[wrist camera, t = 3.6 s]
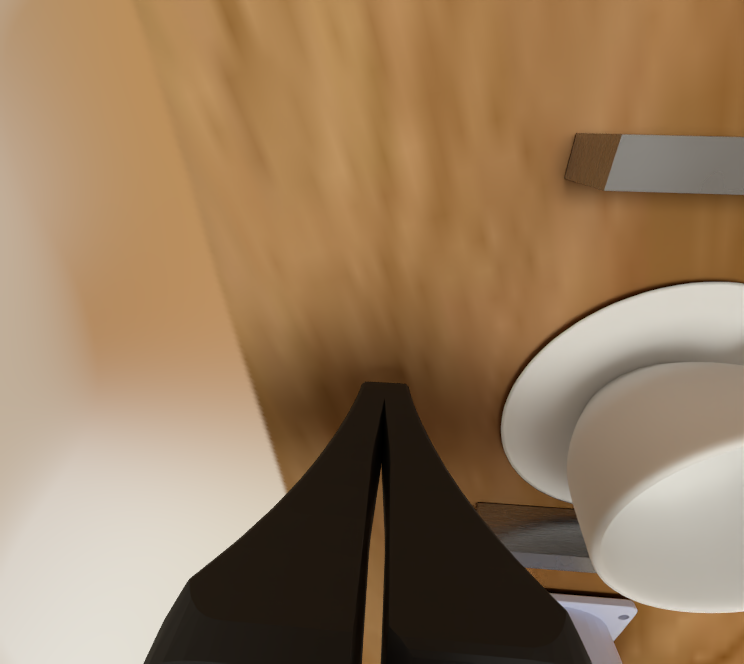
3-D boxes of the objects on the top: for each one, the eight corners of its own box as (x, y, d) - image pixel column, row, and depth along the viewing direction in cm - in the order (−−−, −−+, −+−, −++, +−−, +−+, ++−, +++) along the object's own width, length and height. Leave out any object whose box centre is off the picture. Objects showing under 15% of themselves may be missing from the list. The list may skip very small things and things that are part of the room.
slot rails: (706, 533, 15) (745, 584, 14) (474, 516, 16) (483, 564, 14) (1031, 143, 8) (1205, 147, 6) (576, 133, 8) (622, 134, 7)
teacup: (626, 525, 16) (704, 661, 12) (444, 435, 14) (462, 561, 10) (886, 373, 11) (1157, 510, 7) (670, 207, 9) (876, 266, 5)
